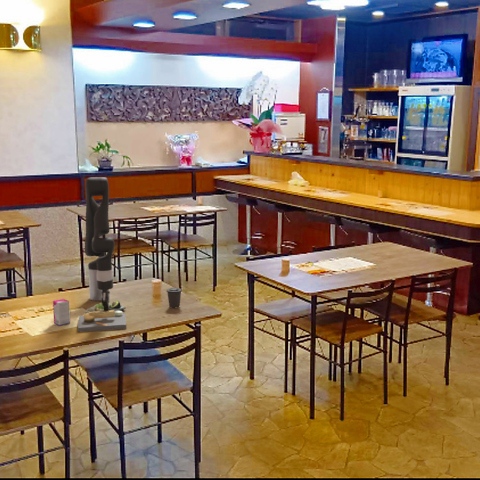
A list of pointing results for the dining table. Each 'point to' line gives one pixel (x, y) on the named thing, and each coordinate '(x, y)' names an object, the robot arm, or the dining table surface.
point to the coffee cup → (174, 297)
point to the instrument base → (103, 323)
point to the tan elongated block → (98, 315)
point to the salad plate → (113, 306)
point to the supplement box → (61, 312)
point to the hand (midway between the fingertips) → (106, 313)
